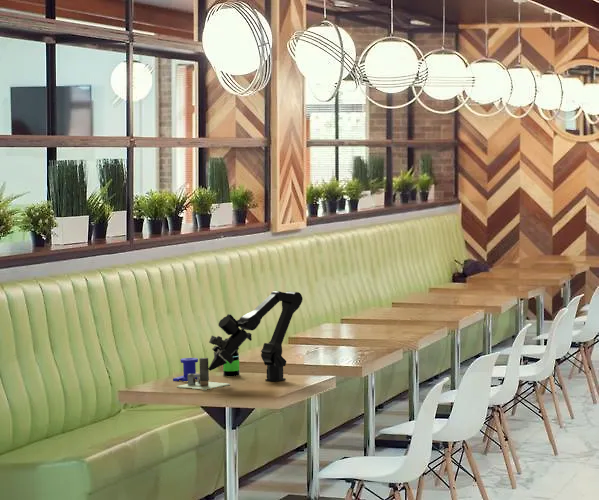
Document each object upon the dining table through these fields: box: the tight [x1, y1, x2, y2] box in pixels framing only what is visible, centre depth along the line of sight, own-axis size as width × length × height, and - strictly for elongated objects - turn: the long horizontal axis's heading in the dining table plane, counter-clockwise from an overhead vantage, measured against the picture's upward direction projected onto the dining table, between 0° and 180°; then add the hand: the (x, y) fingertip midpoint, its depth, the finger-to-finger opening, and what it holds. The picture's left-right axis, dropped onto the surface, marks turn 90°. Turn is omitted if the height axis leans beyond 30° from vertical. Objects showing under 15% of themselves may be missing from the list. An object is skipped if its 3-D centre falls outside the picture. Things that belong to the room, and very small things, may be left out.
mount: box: [172, 357, 199, 382], centre depth 526 cm, size 15×8×9 cm, turn 153°
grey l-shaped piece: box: [196, 357, 210, 386], centre depth 506 cm, size 14×4×11 cm, turn 9°
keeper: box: [187, 373, 200, 385], centre depth 506 cm, size 3×6×5 cm, turn 78°
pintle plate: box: [176, 381, 231, 391], centre depth 505 cm, size 16×15×1 cm
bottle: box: [222, 349, 241, 377], centre depth 533 cm, size 7×7×15 cm
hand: (209, 369), depth 501 cm, fingers closed, pressing on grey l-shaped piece
